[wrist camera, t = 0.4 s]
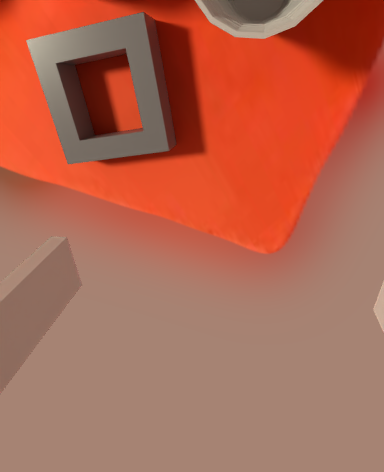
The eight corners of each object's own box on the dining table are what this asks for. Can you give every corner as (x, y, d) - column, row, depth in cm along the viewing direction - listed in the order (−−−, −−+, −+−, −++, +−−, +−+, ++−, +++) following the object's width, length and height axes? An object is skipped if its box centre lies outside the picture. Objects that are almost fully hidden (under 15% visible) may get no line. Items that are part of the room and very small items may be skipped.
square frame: (48, 44, 34) (26, 40, 31) (154, 19, 32) (143, 12, 28) (83, 157, 40) (67, 164, 37) (176, 144, 37) (169, 150, 34)
